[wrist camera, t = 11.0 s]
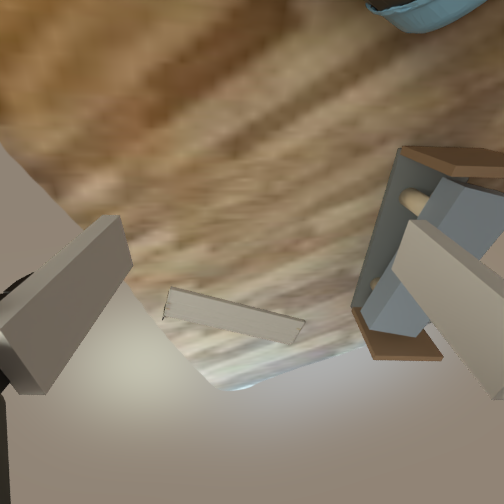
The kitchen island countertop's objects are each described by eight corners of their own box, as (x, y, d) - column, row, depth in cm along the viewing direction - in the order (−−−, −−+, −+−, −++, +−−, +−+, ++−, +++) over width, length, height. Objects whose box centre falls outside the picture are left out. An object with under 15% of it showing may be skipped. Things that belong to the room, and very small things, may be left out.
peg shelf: (350, 307, 57) (373, 359, 46) (399, 144, 40) (455, 165, 29) (404, 308, 57) (440, 361, 46) (477, 146, 40) (563, 168, 29)
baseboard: (286, 345, 65) (303, 317, 60) (288, 355, 62) (306, 327, 57) (163, 317, 60) (171, 284, 55) (160, 326, 57) (167, 293, 52)
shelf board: (360, 311, 50) (369, 329, 46) (442, 176, 36) (465, 187, 33) (403, 318, 51) (415, 337, 47) (498, 191, 37) (526, 202, 34)
